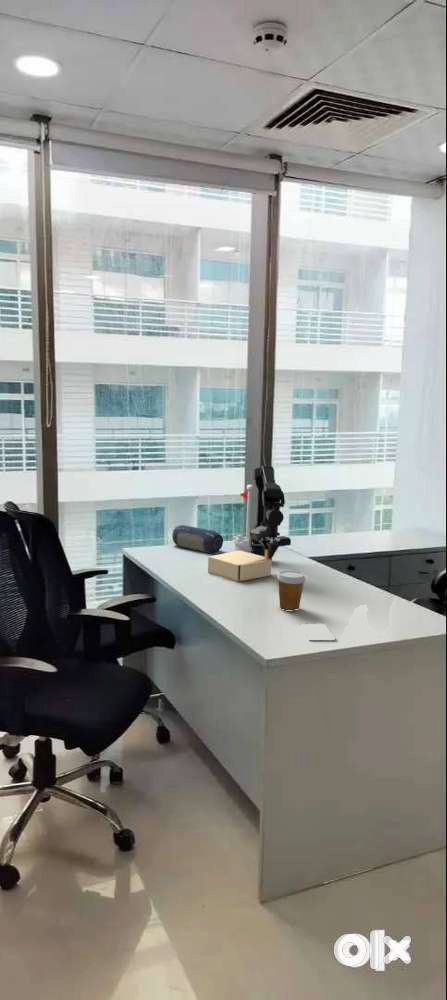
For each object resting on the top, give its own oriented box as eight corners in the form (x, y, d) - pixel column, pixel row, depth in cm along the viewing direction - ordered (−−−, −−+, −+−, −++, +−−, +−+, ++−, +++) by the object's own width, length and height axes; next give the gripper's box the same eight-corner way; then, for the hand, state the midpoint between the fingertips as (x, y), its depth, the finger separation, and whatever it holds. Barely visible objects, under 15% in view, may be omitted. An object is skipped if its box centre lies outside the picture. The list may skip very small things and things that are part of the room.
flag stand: (266, 548, 306) (269, 484, 301) (252, 553, 295) (255, 487, 290) (241, 544, 312) (244, 481, 307) (227, 549, 301) (230, 484, 296)
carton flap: (269, 574, 259) (271, 548, 257) (271, 575, 258) (272, 549, 257) (239, 580, 249) (240, 553, 248) (241, 581, 249) (242, 553, 247)
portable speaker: (168, 546, 301) (168, 525, 300) (181, 543, 309) (182, 522, 308) (211, 556, 287) (212, 533, 286) (225, 552, 295) (226, 530, 294)
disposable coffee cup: (273, 604, 224) (274, 569, 222) (300, 604, 225) (302, 570, 223) (277, 613, 214) (279, 577, 213) (306, 613, 215) (308, 578, 213)
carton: (239, 565, 273) (240, 550, 272) (268, 574, 261) (269, 558, 260) (208, 572, 260) (208, 556, 259) (237, 581, 249) (237, 565, 248)
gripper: (239, 516, 256) (237, 555, 259) (270, 526, 242) (267, 567, 244) (262, 514, 263) (259, 552, 266) (293, 523, 248) (290, 563, 251)
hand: (268, 558), depth 256 cm, fingers closed
